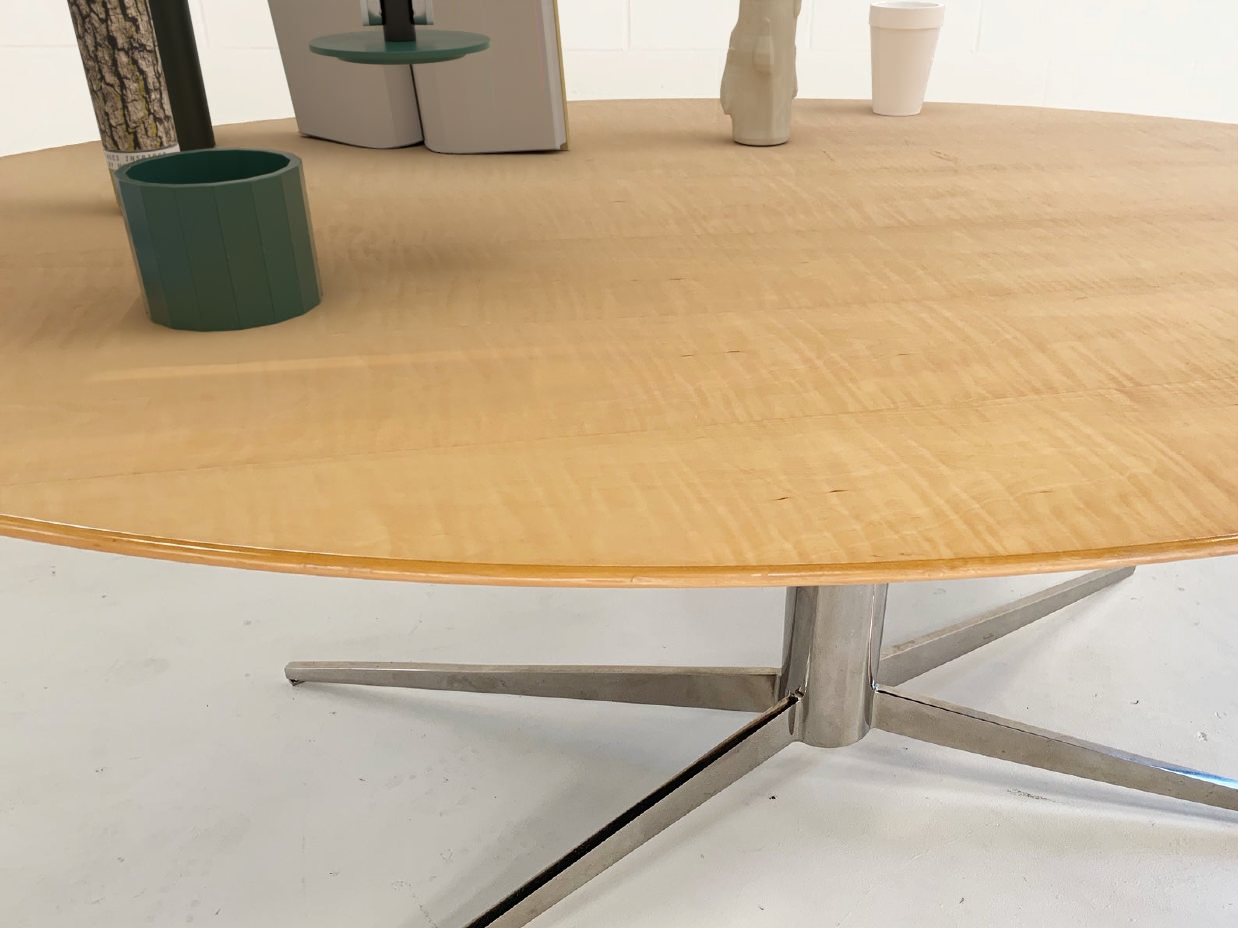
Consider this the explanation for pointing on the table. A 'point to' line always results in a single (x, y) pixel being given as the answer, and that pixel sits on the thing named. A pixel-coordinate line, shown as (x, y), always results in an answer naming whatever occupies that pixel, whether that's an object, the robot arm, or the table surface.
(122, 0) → the brown tall cylinder
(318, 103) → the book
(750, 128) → the vase
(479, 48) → the lid
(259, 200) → the pot
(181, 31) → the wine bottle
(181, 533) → the table surface
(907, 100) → the foam cup
